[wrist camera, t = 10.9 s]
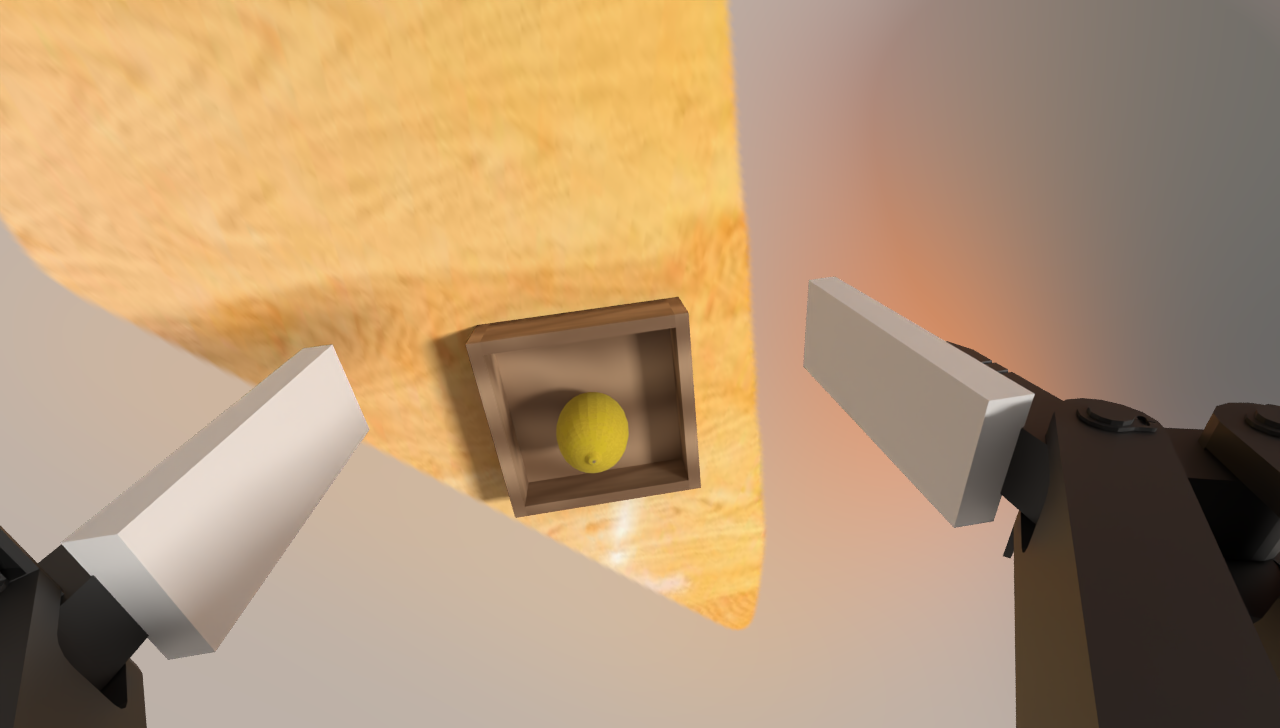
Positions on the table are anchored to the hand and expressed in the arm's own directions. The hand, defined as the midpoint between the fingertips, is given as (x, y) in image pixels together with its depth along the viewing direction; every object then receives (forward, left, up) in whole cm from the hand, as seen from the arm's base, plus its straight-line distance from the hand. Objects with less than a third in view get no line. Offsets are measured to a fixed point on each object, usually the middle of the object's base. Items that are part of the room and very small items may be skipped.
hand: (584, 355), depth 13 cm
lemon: (+14, -2, -23) cm, 27 cm away
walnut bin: (+14, -1, -24) cm, 28 cm away
